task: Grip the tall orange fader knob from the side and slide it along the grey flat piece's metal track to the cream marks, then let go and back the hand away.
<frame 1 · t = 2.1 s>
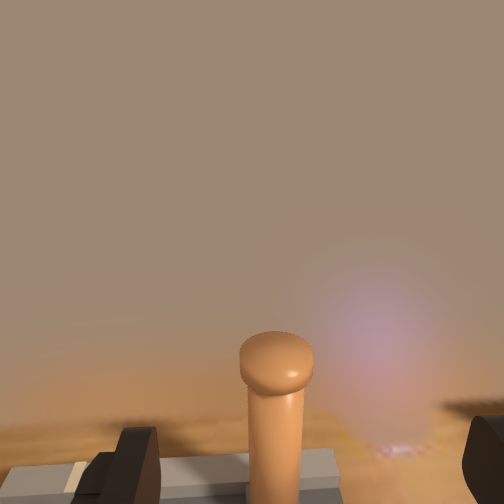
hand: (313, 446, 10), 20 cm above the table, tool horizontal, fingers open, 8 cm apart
fader: (274, 444, 25), point 8 cm above the table, slide at -7.0 cm
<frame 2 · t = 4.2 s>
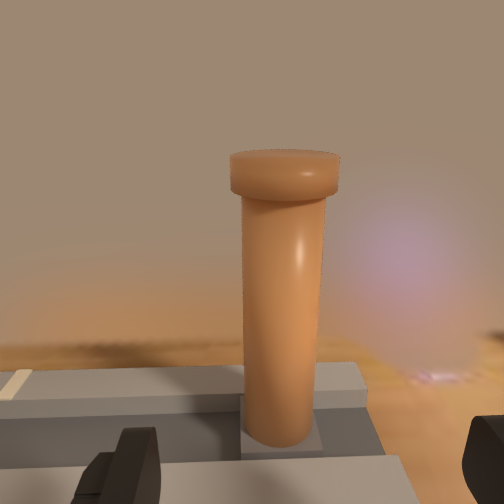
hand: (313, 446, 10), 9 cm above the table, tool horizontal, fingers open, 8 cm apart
grey flat piece: (136, 469, 20), on the table
fader: (280, 317, 17), point 8 cm above the table, slide at -7.0 cm
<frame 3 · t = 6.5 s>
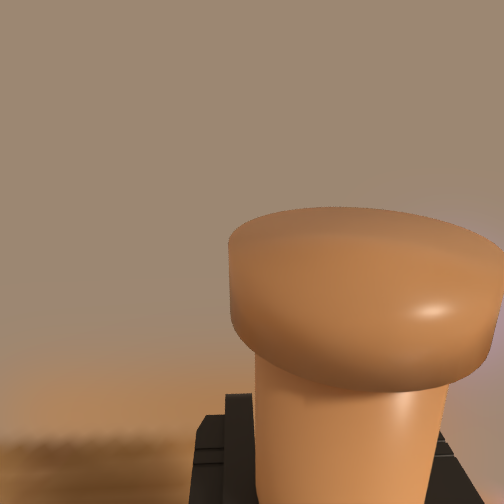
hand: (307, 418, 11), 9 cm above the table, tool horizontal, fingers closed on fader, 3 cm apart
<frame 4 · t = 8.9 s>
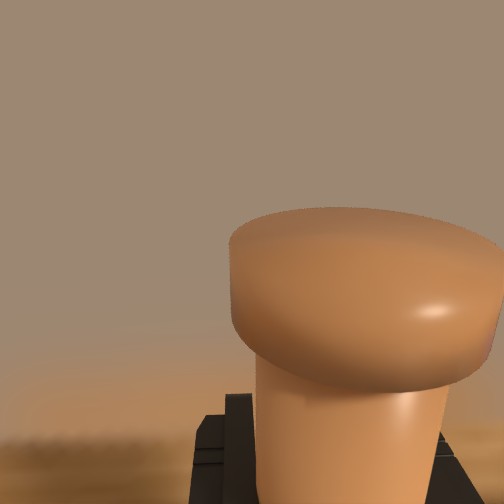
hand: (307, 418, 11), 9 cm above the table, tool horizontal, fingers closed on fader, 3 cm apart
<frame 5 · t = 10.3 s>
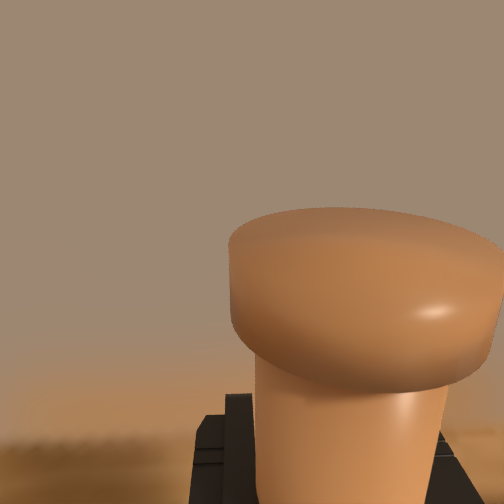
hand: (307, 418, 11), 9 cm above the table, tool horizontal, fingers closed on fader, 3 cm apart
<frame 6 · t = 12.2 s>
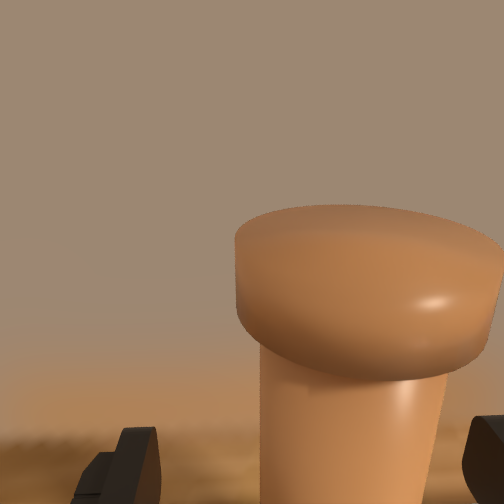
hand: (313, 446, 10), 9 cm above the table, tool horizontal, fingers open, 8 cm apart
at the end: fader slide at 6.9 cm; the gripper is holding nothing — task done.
